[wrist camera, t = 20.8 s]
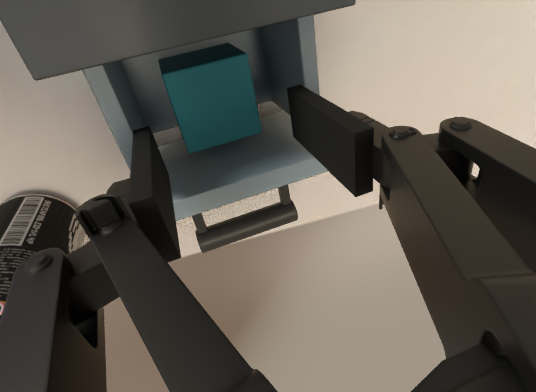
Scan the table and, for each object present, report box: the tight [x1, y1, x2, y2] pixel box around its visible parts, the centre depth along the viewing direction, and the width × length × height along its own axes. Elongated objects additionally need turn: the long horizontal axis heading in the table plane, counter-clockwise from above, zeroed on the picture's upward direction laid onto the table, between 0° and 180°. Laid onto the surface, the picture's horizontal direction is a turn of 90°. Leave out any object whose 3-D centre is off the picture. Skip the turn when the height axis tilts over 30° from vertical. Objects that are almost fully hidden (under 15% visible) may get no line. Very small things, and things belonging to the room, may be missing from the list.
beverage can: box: [0, 194, 85, 319], centre depth 19 cm, size 6×6×12 cm
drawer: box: [83, 15, 328, 253], centre depth 19 cm, size 19×12×8 cm, turn 10°
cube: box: [158, 43, 262, 154], centre depth 19 cm, size 4×4×4 cm
